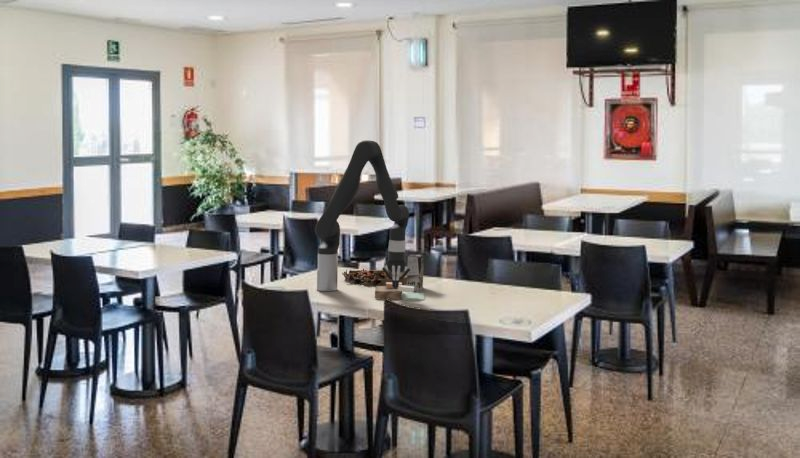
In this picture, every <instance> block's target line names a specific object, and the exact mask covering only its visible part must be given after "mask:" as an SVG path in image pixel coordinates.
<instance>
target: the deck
mask: <svg viewBox="0 0 800 458" xmlns="http://www.w3.org/2000/svg"><path fill="white" fill-rule="evenodd" d="M375 298H380V299H379V300H384V299H383V298H389V299H388V300H403V291H398V288H397V289H394V288H386V286H375V289H374V299H375Z"/></svg>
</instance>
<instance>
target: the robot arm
mask: <svg viewBox="0 0 800 458" xmlns="http://www.w3.org/2000/svg"><path fill="white" fill-rule="evenodd" d="M385 161H386V160H385V158H384V155H383V151H382V149H381V146H380V145H379V143H378V142H377V141H374V140H361V141H359V142H358V143H357V144H356V145H355V147H354V150H353V153H352V155H351V158H350V161H349V163H348V165H347V166H346V169H345V170H344V173H343V175H342V177H341V179H340V180H339V182H338V184H337V187H336V188H335V191H334V192H333V194H332V196H331V198H330V200H329V202H328V204H327V206H326V207H325V210H324V211H323V212H322V215H321V216H320V218H319V219H318V220H317V222H316V224H315V228H314V233H315V236H316V237H317V238H318V239H319V240H321V243H320V244H319V246H318V247H317V270H316V291H321V292H334V291H335V292H336V291H337V290H338V270H339V269H338V266H339V265H338V264H339V263H338V260H339V258H338V256H339V255H338V253H339V252H338V251H339V248H340V244H341V243H340V241H341V239H340V238H341V226H340V223H339V222H338V219H339V217H340V216H341V214H343V213H344V211H346V209H347V208H348V207H349V206H350V205H351V204H352V202H353V201H354V199H355V197H356V195H357V193H358V191H359V189H360V184H361V176H362V172H363V171H364V169H365V166H366V165H367V163H368V162H369V163H370V165H371V167H372V168H373V170H374V174H375V181H376V186H377V189H378V190H377V191H378V192H379V194H380V196H381V198H382V201H383V202H384V208H385V212H386V215H387V218H388V219H389V220H390V221H392V222H393V226H391V227H390V228H389V241H388V251H387V253H388V254H387V255H388V258H387V262H386V265H384V266H383V267H382V269H381V270H383V271H384V272H385V274H386V275H387V276H388V278H389V279H392V287H394V289H397V287H398V286H399V280H401V279H403V278H404V277H405V276H406V274H407V273H408V272H409V271H410V268H408V265H407V264H406V247H407V246H406V231H407V227H408V224H409V218H410V212H409V211H410V210H409V209H408V207H407V206H406V205H404V204H398V199H399V194H398V191H397V189H396V187H395V185H394V183H393V181H392V178H391V176H390V173H389V171H388V169H387V166H386V162H385ZM403 270H404V271H403ZM388 271H391V272H392V276H391V275H390V273H389V272H388ZM402 271H403V272H402ZM395 272H397V277H396V280H395ZM400 272H402V273H403V274H402V275H401V276H399V275H400Z"/></svg>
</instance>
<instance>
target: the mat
mask: <svg viewBox="0 0 800 458" xmlns="http://www.w3.org/2000/svg"><path fill="white" fill-rule="evenodd" d="M402 300H404V301H425V293H424V292H423V293H422V292H402Z"/></svg>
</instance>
